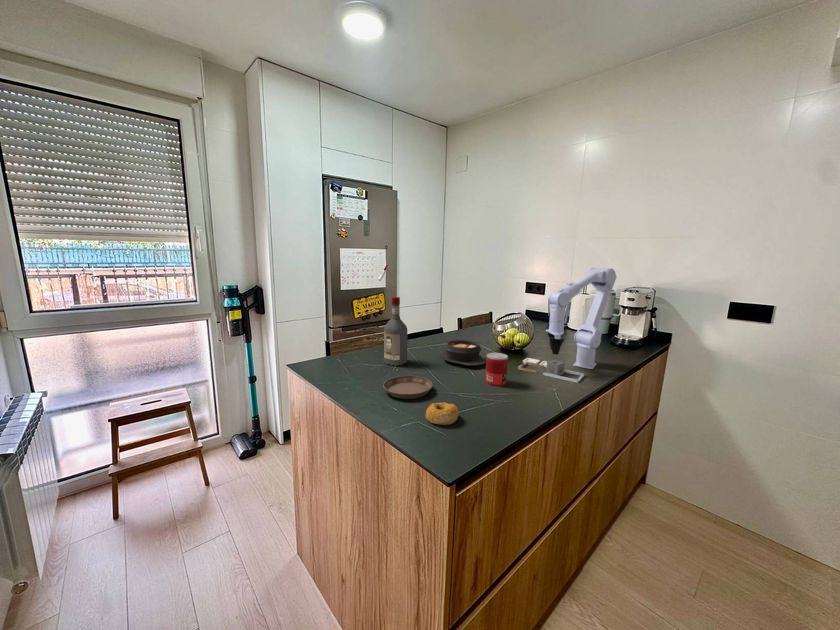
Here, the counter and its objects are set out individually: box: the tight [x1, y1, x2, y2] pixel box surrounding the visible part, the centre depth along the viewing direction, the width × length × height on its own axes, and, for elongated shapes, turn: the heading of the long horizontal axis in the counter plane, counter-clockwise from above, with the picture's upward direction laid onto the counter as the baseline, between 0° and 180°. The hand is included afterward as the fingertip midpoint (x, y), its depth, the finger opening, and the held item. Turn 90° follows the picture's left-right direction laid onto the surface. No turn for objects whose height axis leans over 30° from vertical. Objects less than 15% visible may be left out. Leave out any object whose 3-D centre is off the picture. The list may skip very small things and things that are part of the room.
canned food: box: [485, 352, 509, 387], centre depth 127 cm, size 8×8×11 cm
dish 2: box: [539, 360, 548, 368], centre depth 149 cm, size 6×6×1 cm
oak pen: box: [517, 362, 545, 374], centre depth 145 cm, size 10×8×1 cm
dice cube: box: [545, 359, 565, 376], centre depth 139 cm, size 5×5×5 cm
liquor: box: [383, 296, 408, 367], centre depth 148 cm, size 9×9×30 cm
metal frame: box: [542, 368, 585, 383], centre depth 137 cm, size 10×14×1 cm
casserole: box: [439, 339, 486, 367], centre depth 154 cm, size 25×19×8 cm
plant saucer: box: [382, 375, 433, 400], centre depth 119 cm, size 18×18×3 cm
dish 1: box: [522, 357, 541, 364], centre depth 154 cm, size 6×6×1 cm
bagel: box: [424, 401, 459, 426], centre depth 99 cm, size 10×11×5 cm
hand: (554, 351), depth 141 cm, fingers open, 7 cm apart
